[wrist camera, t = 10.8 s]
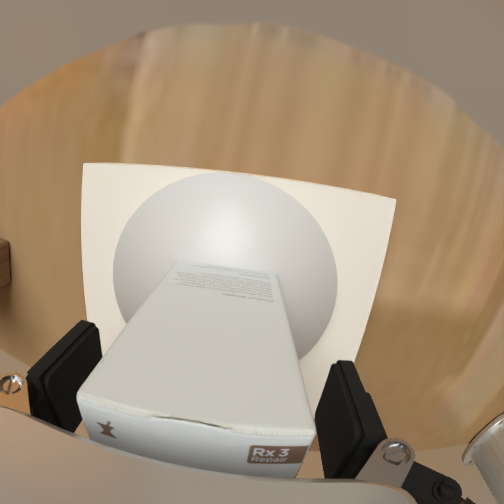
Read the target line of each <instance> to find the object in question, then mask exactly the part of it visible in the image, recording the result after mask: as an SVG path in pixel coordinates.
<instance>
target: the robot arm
mask: <svg viewBox="0 0 504 504" xmlns="http://www.w3.org/2000/svg"><path fill="white" fill-rule="evenodd" d="M102 357H103V355H102V349H101V341H100V334H99V329H98V328H97V327H96V325H95V324H94V323H92V322H88V321H85V320H81V321H80V322H79V323H78V324H76V325H75V326H74V327H73V328H72V329H71V330H70V331H69V332H68V333H67V334H66V335H65V336H64V337H63V338H61V339H60V340H59V341H58V342H57V343H56V344H55V345H54V346H53V347H52V348H51V349H50V350H49V351H48V352H47V353H46V354H45V355H44V356H43V357H42V358H41V359H40V360H39V361H38V362H37V363H36V364H35V365H34V366H33V367H32V368H31V369H30V370H29V371H28V372H27V373H28V375H27V377H26V378H25V377H24V376H22V375H21V374H18V373H6V374H4V375H2V376H0V504H475V503H474V502H473V501H472V500H470V499H469V498H468V497H467V498H466V499H463V498H462V497H461V496H462V490H461V487H460V485H459V484H458V483H457V482H456V481H455V480H453V479H452V478H449V477H447V476H445V475H443V474H440V473H438V472H436V471H434V470H432V469H430V468H428V467H426V466H423V465H421V464H419V463H417V462H415V461H414V459H415V451H414V449H413V447H412V446H411V445H410V444H409V443H407V442H406V441H404V440H401V439H398V438H389V439H388V437H387V435H386V432H385V430H384V427H383V425H382V422H381V420H380V417H379V415H378V412H377V410H376V408H375V405H374V403H373V400H372V398H371V396H370V394H369V393H367V392H365V390H364V387H363V385H362V383H361V380H360V378H359V375H358V373H357V371H356V368H355V366H354V363H353V362H352V361H350V360H337V362H336V363H333V364H332V365H331V367H330V371H329V374H328V377H327V380H326V383H325V386H324V389H323V391H322V394H321V397H320V400H319V403H318V406H317V408H316V411H315V423H316V429H317V435H318V441H319V447H320V453H321V459H322V465H323V471H324V477H325V479H299V478H275V477H259V476H247V475H238V474H229V473H222V472H215V471H208V470H202V469H196V468H191V467H186V466H181V465H176V464H171V463H167V462H163V461H158V460H154V459H150V458H147V457H143V456H139V455H136V454H132V453H129V452H125V451H122V450H119V449H116V448H113V447H110V446H107V445H104V444H101V443H98V442H95V441H92V440H90V439H87V438H84V437H82V436H79V435H76V434H74V432H75V430H76V428H77V427H78V426H79V424H80V422H81V421H82V416H81V413H80V409H79V406H78V403H77V392H78V390H79V389H80V387H81V386H82V385H83V383H84V382H85V381H86V379H87V378H88V377H89V375H90V374H91V372H92V371H93V370H94V368H95V367H96V366H97V364H98V363H99V362H100V360H101V359H102ZM462 460H463V462H464V464H465V465H473V464H476V466H477V468H478V469H479V471H480V473H481V474H482V476H483V478H484V480H485V482H486V484H487V486H488V488H489V490H490V491H491V493H492V495H493V497H494V499H495V501H496V503H497V504H504V413H503V414H501V415H500V416H498V417H497V418H496V419H494V420H493V421H492V422H491V423H490V424H488V425H487V426H486V427H485V428H484V429H483V430H482V431H481V432H480V433H479V434H478V435H477V436H476V437H475V438H474V439H473V440H472V441H471V443H470V444H469V445H468V446H467V448H466V450H465V452H464V453H463V456H462Z"/></svg>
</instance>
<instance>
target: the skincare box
mask: <svg viewBox="0 0 504 504" xmlns="http://www.w3.org/2000/svg"><path fill="white" fill-rule="evenodd" d="M77 403H78V406H79V409H80V413H81V416H82V419H83V422H84V425H85V427H86V430H87V433H88V435H89V438H90V440H92V441H95V442H98V443H101V444H104V445H107V446H110V447H113V448H116V449H119V450H122V451H125V452H129V453H132V454H136V455H139V456H143V457H147V458H150V459H154V460H158V461H163V462H167V463H171V464H176V465H181V466H186V467H191V468H196V469H202V470H208V471H215V472H222V473H229V474H238V475H247V476H259V477H275V478H296V476H297V474H298V472H299V470H300V467H301V465H302V463H303V461H304V459H305V457H306V455H307V452H308V450H309V448H310V446H311V443H312V441H313V439H314V437H315V435H316V427H315V423H314V420H313V416H312V412H311V408H310V404H309V401H308V397H307V393H306V388H305V384H304V380H303V376H302V372H301V368H300V364H299V360H298V356H297V351H296V347H295V343H294V339H293V335H292V331H291V327H290V323H289V319H288V314H287V310H286V307H285V303H284V299H283V295H282V291H281V287H280V283H279V279H278V275H277V274H276V273H270V272H262V271H254V270H247V269H239V268H232V267H225V266H217V265H210V264H202V263H195V262H189V261H181V260H178V261H176V262H175V263H174V265H173V266H172V267H171V269H170V270H169V271H168V272H167V273H166V275H165V276H164V277H163V278H162V280H161V281H160V282H159V283H158V285H157V286H156V287H155V289H154V290H153V291H152V292H151V293H150V295H149V296H148V297H147V299H146V300H145V301H144V302H143V304H142V305H141V306H140V308H139V309H138V310H137V311H136V313H135V314H134V315H133V317H132V318H131V319H130V321H129V322H128V323H127V324H126V326H125V327H124V328H123V330H122V331H121V332H120V334H119V335H118V336H117V338H116V339H115V340H114V342H113V343H112V345H111V346H110V347H109V349H108V350H107V351H106V353H105V354H104V356H103V357H102V359H101V360H100V362H99V363H98V364H97V366H96V367H95V368H94V370H93V371H92V372H91V374H90V375H89V377H88V378H87V379H86V381H85V382H84V383H83V385H82V386H81V387H80V389H79V390H78V392H77Z"/></svg>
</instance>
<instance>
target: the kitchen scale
mask: <svg viewBox="0 0 504 504" xmlns="http://www.w3.org/2000/svg"><path fill="white" fill-rule="evenodd" d="M395 204H396V200H395V199H392V198H388V197H385V196H381V195H377V194H372V193H367V192H362V191H357V190H351V189H346V188H341V187H335V186H329V185H323V184H318V183H311V182H305V181H299V180H292V179H285V178H278V177H271V176H264V175H256V174H248V173H239V172H230V171H221V170H211V169H201V168H189V167H177V166H163V165H147V164H126V163H84V164H83V179H82V204H81V240H82V266H83V281H84V293H85V303H86V312H87V320H88V322H92V323H94V324H95V325H96V327H97V328H98V329H99V334H100V341H101V349H102V355H103V356H104V354H105V353H106V351H107V350H108V349H109V347H110V346H111V345H112V343H113V342H114V340H115V339H116V338H117V336H118V335H119V334H120V332H121V331H122V330H123V328H124V327H125V326H126V324H127V323H128V322H129V321H130V319H131V318H132V317H133V315H134V314H135V313H136V311H137V310H138V309H139V308H140V306H141V305H142V304H143V302H144V301H145V300H146V299H147V297H148V296H149V295H150V293H151V292H152V291H153V290H154V289H155V287H156V286H157V285H158V283H159V282H160V281H161V280H162V278H163V277H164V276H165V275H166V273H167V272H168V271H169V270H170V269H171V267H172V266H173V265H174V263H175V262H176V261H178V260H181V261H189V262H195V263H202V264H210V265H217V266H225V267H232V268H239V269H247V270H254V271H262V272H270V273H276V274H277V275H278V279H279V283H280V287H281V291H282V295H283V299H284V303H285V307H286V310H287V314H288V319H289V323H290V327H291V331H292V335H293V339H294V343H295V347H296V351H297V356H298V360H299V364H300V368H301V372H302V376H303V380H304V384H305V388H306V393H307V397H308V401H309V404H310V408H311V412H312V416H313V418H315V411H316V408H317V406H318V403H319V400H320V397H321V394H322V391H323V389H324V386H325V383H326V380H327V377H328V374H329V371H330V367H331V365H332V364H333V363H336V362H337V360H350V361H352V362H353V363H354V361H355V358H356V355H357V352H358V349H359V346H360V343H361V340H362V337H363V334H364V331H365V328H366V324H367V321H368V318H369V314H370V311H371V308H372V304H373V301H374V297H375V293H376V290H377V286H378V282H379V278H380V275H381V271H382V266H383V262H384V258H385V254H386V249H387V245H388V240H389V236H390V231H391V226H392V221H393V215H394V210H395Z"/></svg>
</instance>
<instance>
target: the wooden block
mask: <svg viewBox="0 0 504 504" xmlns="http://www.w3.org/2000/svg"><path fill="white" fill-rule="evenodd" d="M10 280H11V277H10V261H9V243H8V241H6V240H3V239H1V238H0V288H2V287H3V286H5V285H7V284H8V283H10Z"/></svg>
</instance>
